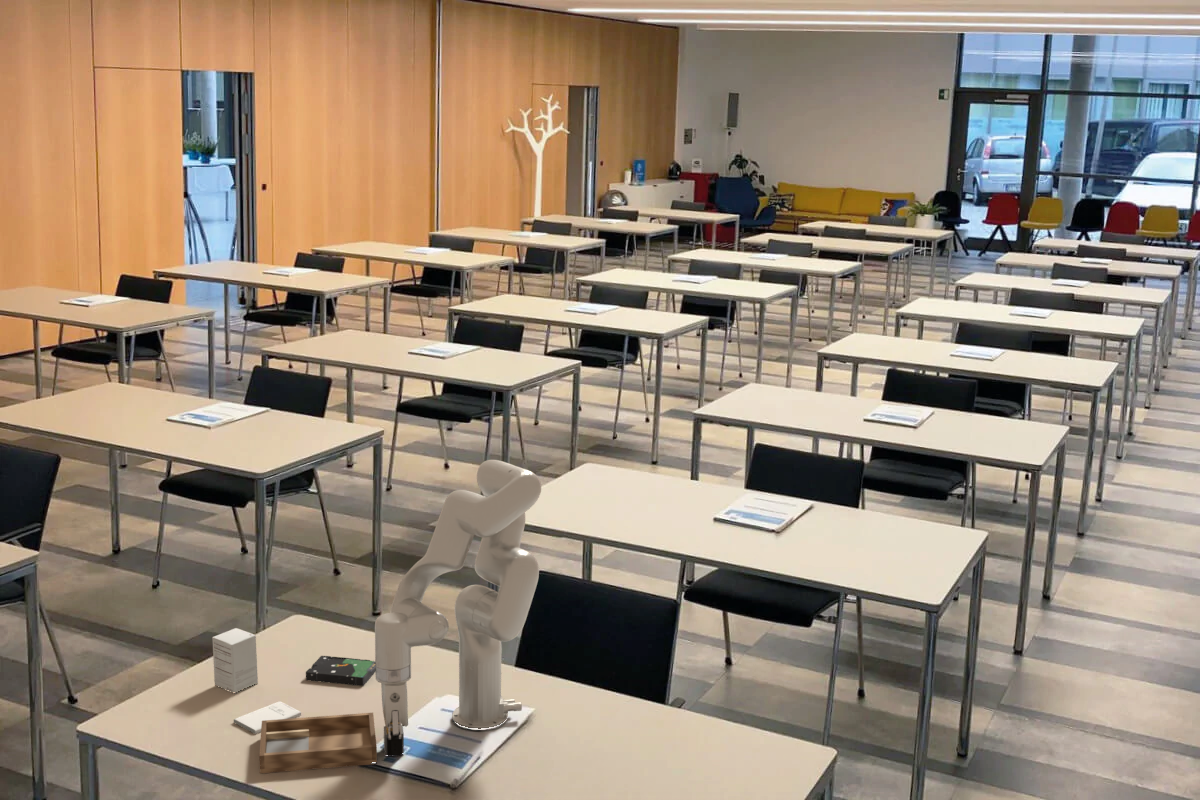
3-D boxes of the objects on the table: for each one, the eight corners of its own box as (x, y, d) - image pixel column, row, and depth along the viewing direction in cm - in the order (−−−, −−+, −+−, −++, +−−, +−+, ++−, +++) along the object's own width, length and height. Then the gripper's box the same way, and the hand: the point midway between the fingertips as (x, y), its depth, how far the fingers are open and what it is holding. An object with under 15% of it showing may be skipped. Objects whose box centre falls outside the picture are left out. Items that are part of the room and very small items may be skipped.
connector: (402, 746, 286) (402, 720, 284) (403, 755, 282) (403, 729, 281) (383, 747, 285) (383, 722, 284) (384, 756, 281) (384, 730, 280)
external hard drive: (233, 725, 295) (279, 706, 304) (255, 737, 290) (301, 717, 299) (233, 718, 294) (278, 699, 304) (255, 730, 289) (301, 711, 299)
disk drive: (305, 683, 317) (364, 687, 314) (304, 672, 316) (364, 677, 314) (321, 665, 327) (378, 670, 324) (320, 655, 326) (378, 659, 324)
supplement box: (238, 675, 318) (236, 626, 316) (258, 684, 314) (256, 634, 311) (213, 686, 312) (211, 636, 310) (233, 694, 308) (231, 644, 305)
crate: (373, 728, 293) (373, 712, 292) (376, 763, 278) (376, 746, 277) (262, 737, 288) (261, 720, 287) (259, 773, 273) (259, 755, 272)
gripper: (414, 686, 272) (414, 767, 276) (408, 653, 288) (408, 730, 292) (377, 689, 271) (378, 770, 275) (373, 656, 286) (374, 733, 291)
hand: (394, 748), depth 283 cm, fingers closed on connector, 3 cm apart
